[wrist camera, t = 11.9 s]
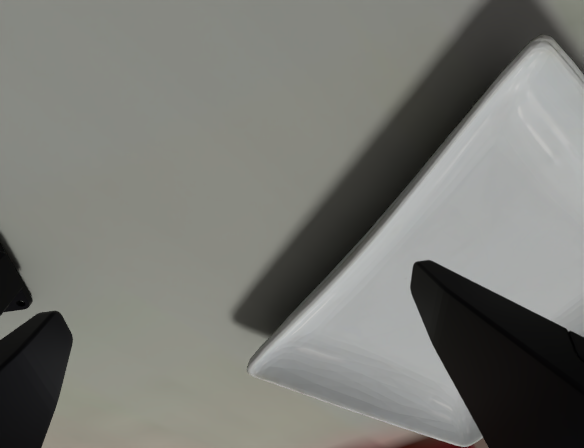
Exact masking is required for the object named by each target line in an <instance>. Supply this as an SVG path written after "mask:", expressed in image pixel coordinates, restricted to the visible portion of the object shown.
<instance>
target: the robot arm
mask: <svg viewBox="0 0 584 448" xmlns="http://www.w3.org/2000/svg"><path fill="white" fill-rule="evenodd" d="M410 290H411V294H412V297H413V299H414V302H415V304H416V306H417V309H418V311H419V314H420V316H421V319H422V321H423V323H424V326H425V328H426V331H427V333H428V336H429V338H430V340H431V342H432V345H433V346H434V348H435V350H436V352H437V354H438V356H439V358H440V360H441V361H442V363H443V365H444V367H445V369H446V371H447V372H448V374H449V376H450V378H451V380H452V381H453V383H454V385H455V387H456V389H457V391H458V392H459V394H460V396H461V398H462V400H463V402H464V403H465V405H466V407H467V409H468V411H469V412H470V414H471V416H472V418H473V420H474V422H475V423H476V425H477V427H478V429H479V431H480V433H481V434H482V436H483V438H484V440H485V442H486V443H487V445H488V447H489V448H584V337H582V336H581V335H579V334H577V333H575V332H573V331H568V330H567V329H566V328H564V327H563V326H561V325H559V324H557V323H555V322H553V321H551V320H549V319H547V318H545V317H543V316H541V315H539V314H537V313H535V312H533V311H531V310H529V309H527V308H525V307H523V306H521V305H519V304H517V303H515V302H513V301H511V300H509V299H507V298H505V297H503V296H501V295H499V294H497V293H495V292H493V291H491V290H489V289H487V288H485V287H483V286H481V285H479V284H477V283H475V282H473V281H471V280H469V279H467V278H465V277H463V276H461V275H459V274H457V273H455V272H453V271H451V270H449V269H447V268H445V267H443V266H441V265H440V264H438V263H436V262H434V261H431V260H423V261H417V262H415V263H414V265H413V269H412V276H411V283H410ZM21 301H23V302H21ZM32 301H33V300H32V298H31V296H30V294H29V292H28V291H27V289H26V287H25V285H24V283H23V282H22V280H21V278H20V276H19V275H18V273H17V271H16V269H15V268H14V266H13V264H12V262H11V261H10V259H9V257H8V255H7V254H6V252H5V250H4V249H3V247H2V245H1V243H0V316H1V315H2V313H3V312H8V311H15V310H23V309H27V308H28V307H29V306H30V305H31V303H32ZM72 343H73V338H72V334H71V331H70V330H69V328H68V326H67V324H66V322H65V320H64V318H63V317H62V315H61V313H59V312H58V311H49V312H42V313H38V314H36V315H35V316H34V317H32V318H31V319H29V320H28V321H27V322H25V323H24V324H22V325H21V326H20V327H18V328H17V329H15V330H14V331H13V332H11V333H10V334H8V335H7V336H6V337H4V338H3V339H1V340H0V448H41V447H42V444H43V441H44V439H45V436H46V433H47V430H48V428H49V425H50V422H51V419H52V417H53V414H54V411H55V408H56V405H57V402H58V398H59V395H60V391H61V387H62V383H63V379H64V375H65V371H66V367H67V363H68V359H69V355H70V351H71V347H72Z"/></svg>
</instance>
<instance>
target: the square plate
mask: <svg viewBox="0 0 584 448" xmlns="http://www.w3.org/2000/svg"><path fill="white" fill-rule="evenodd" d="M423 260H431V261H434V262H436V263H438V264H440V265H441V266H443V267H445V268H447V269H449V270H451V271H453V272H455V273H457V274H459V275H461V276H463V277H465V278H467V279H469V280H471V281H473V282H475V283H477V284H479V285H481V286H483V287H485V288H487V289H489V290H491V291H493V292H495V293H497V294H499V295H501V296H503V297H505V298H507V299H509V300H511V301H513V302H515V303H517V304H519V305H521V306H523V307H525V308H527V309H529V310H531V311H533V312H535V313H537V314H539V315H541V316H543V317H545V318H547V319H549V320H551V321H553V322H555V323H557V324H559V325H561V326H563V327H564V328H566V329H567V330H568V331H573V332H575V333H577V334H579V335H581V336H582V337H584V74H583V73H582V72H581V71H580V69H579V68H578V67H577V65H576V64H575V63H574V62H573V60H572V59H571V58H570V57H569V56H568V55H567V54H566V53H565V51H564V50H563V49H562V48H561V47H560V46H559V45H558V43H557V42H556V41H555V40H554V39H553V38H552V37H550V36H547V35H539V36H538V37H536V38H535V39H533V40H532V41H530V42H529V43H528V44H527V45H526V46H525V47H524V48H523V49H522V50H521V51H520V53H519V54H518V55H517V56H516V57H515V58H514V59H513V60H512V61H511V62H510V63H509V64H508V65H507V67H506V68H505V69H504V70H503V71H502V72H501V73H500V75H499V76H498V77H497V78H496V79H495V80H494V82H493V83H492V84H491V85H490V87H489V88H488V89H487V90H486V92H485V93H484V94H483V95H482V96H481V98H480V99H479V100H478V101H477V102H476V103H475V104H474V106H473V107H472V108H471V110H470V111H469V112H468V114H467V115H466V116H465V117H464V118H463V119H462V121H461V122H460V123H459V124H458V125H457V126H456V127H455V129H454V130H453V131H452V132H451V133H450V135H449V136H448V137H447V138H446V139H445V141H444V142H443V143H442V144H441V145H440V147H439V148H438V149H437V150H436V152H435V153H434V154H433V155H432V156H431V158H430V159H429V160H428V161H427V162H426V164H425V165H424V166H423V167H422V169H421V170H420V171H419V172H418V173H417V175H416V176H415V177H414V178H413V179H412V181H411V182H410V183H409V184H408V185H407V186H406V188H405V189H404V190H403V191H402V192H401V194H400V195H399V196H398V197H397V198H396V199H395V201H394V202H393V203H392V204H391V205H390V206H389V208H388V209H387V210H386V211H385V212H384V213H383V215H382V216H381V217H380V218H379V219H378V220H377V222H376V223H375V224H374V225H373V226H372V227H371V229H370V230H369V231H368V232H367V233H366V234H365V235H364V236H363V238H362V239H361V240H360V241H359V242H358V243H357V244H356V245H355V246H354V247H353V248H352V250H351V251H350V252H349V253H348V254H347V255H346V256H345V257H344V258H343V259H342V260H341V261H340V263H339V264H338V265H337V266H336V267H335V268H334V269H333V270H332V271H331V272H330V273H329V275H328V276H327V277H326V278H325V279H324V280H323V281H322V282H321V283H320V284H319V285H318V286H317V287H316V288H315V289H314V290H313V291H312V292H311V293H310V294H309V296H308V297H307V298H306V299H305V300H304V301H303V302H302V303H301V304H300V305H299V306H298V307H297V308H296V309H295V310H294V311H293V312H292V313H291V314H290V315H289V316H288V318H287V319H286V320H285V321H284V322H283V323H282V324H281V325H280V327H279V328H278V329H277V330H276V331H275V332H274V333H273V334H272V335H271V336H270V337H269V338H268V339H267V340H266V341H265V342H264V344H263V345H262V346H261V347H260V348H259V349H258V350H257V351H256V353H255V354H254V355H253V356H252V357H251V359H250V361H249V363H248V366H247V372H248V373H249V374H250V375H251V376H254V377H256V378H258V379H261V380H264V381H267V382H270V383H273V384H276V385H278V386H281V387H284V388H287V389H290V390H293V391H295V392H298V393H301V394H304V395H307V396H310V397H313V398H315V399H318V400H321V401H324V402H327V403H330V404H333V405H336V406H338V407H341V408H344V409H347V410H350V411H353V412H356V413H359V414H362V415H365V416H368V417H371V418H374V419H377V420H380V421H383V422H386V423H389V424H392V425H395V426H398V427H401V428H404V429H407V430H410V431H413V432H416V433H419V434H422V435H425V436H428V437H431V438H435V439H438V440H441V441H444V442H447V443H450V444H454V445H457V446H461V447H467V446H470V445H472V444H474V443H476V442H477V441H479V440H480V439H481V438H483V436H482V434H481V433H480V431H479V429H478V427H477V425H476V423H475V422H474V420H473V418H472V416H471V414H470V412H469V411H468V409H467V407H466V405H465V403H464V402H463V400H462V398H461V396H460V394H459V392H458V391H457V389H456V387H455V385H454V383H453V381H452V380H451V378H450V376H449V374H448V372H447V371H446V369H445V367H444V365H443V363H442V361H441V360H440V358H439V356H438V354H437V352H436V350H435V348H434V346H433V345H432V342H431V340H430V338H429V336H428V333H427V331H426V328H425V326H424V323H423V321H422V319H421V316H420V314H419V311H418V309H417V306H416V304H415V302H414V299H413V297H412V294H411V290H410V283H411V276H412V269H413V265H414V263H415V262H417V261H423Z"/></svg>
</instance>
